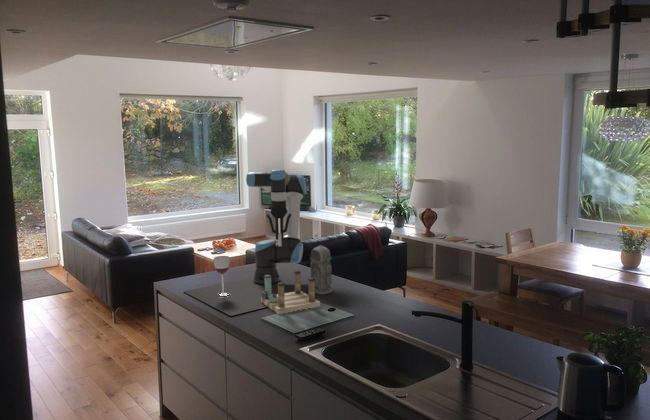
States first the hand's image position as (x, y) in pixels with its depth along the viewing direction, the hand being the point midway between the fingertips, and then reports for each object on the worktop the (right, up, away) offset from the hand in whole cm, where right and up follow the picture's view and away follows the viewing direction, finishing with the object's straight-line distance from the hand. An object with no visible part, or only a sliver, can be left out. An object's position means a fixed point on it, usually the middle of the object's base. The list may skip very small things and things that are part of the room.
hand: (279, 245), depth 280 cm
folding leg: (-3, -25, -12) cm, 28 cm away
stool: (+6, -28, -11) cm, 31 cm away
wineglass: (-30, -26, +6) cm, 40 cm away
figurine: (+22, -25, +10) cm, 35 cm away
